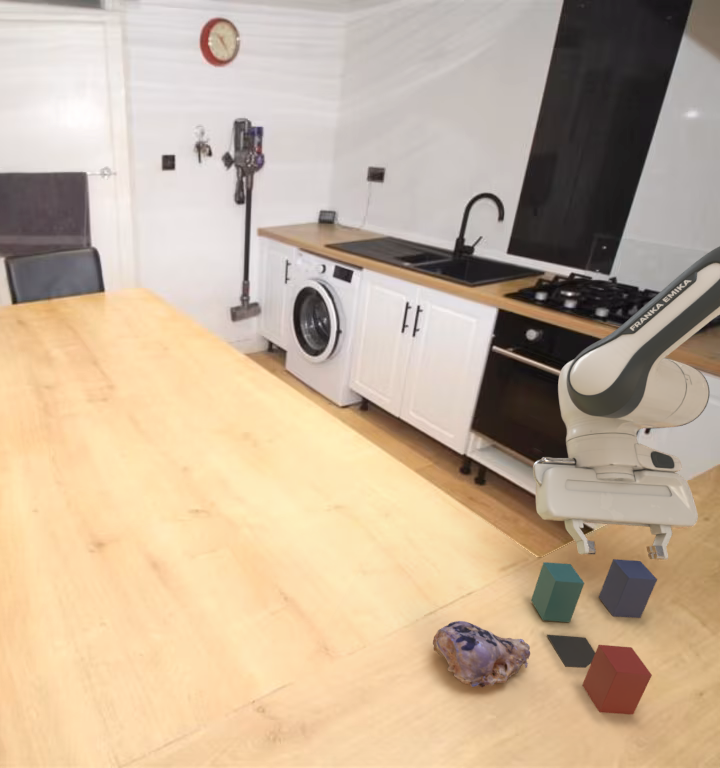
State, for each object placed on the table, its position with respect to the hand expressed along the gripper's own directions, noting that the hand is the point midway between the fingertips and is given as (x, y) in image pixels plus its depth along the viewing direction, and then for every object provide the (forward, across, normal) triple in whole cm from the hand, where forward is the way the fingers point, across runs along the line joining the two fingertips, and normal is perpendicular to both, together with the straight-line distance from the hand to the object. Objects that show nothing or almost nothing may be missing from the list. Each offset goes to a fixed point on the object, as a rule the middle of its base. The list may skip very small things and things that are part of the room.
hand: (622, 557), depth 76 cm
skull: (+15, -23, -5) cm, 28 cm away
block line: (+13, -10, -3) cm, 16 cm away
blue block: (+7, 0, +3) cm, 7 cm away
